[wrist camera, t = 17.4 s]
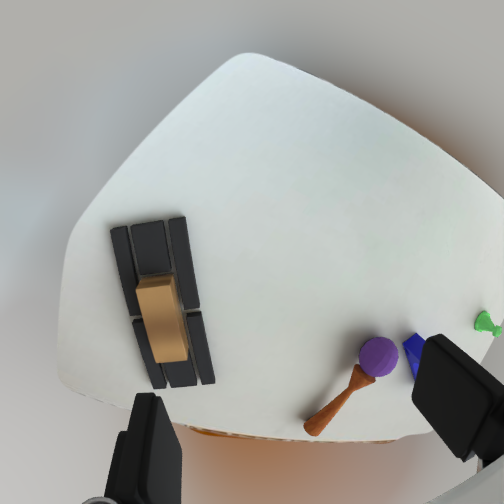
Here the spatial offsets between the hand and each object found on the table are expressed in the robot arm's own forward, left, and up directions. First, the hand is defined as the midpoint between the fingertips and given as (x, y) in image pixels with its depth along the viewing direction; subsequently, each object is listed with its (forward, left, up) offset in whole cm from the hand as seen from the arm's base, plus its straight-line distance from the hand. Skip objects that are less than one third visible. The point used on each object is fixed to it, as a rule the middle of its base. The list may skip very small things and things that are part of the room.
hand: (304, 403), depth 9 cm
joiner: (+9, -10, -28) cm, 31 cm away
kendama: (+26, +14, -28) cm, 41 cm away
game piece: (+23, +45, -28) cm, 58 cm away
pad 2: (+15, -10, -28) cm, 33 cm away
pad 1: (+3, -10, -28) cm, 30 cm away
